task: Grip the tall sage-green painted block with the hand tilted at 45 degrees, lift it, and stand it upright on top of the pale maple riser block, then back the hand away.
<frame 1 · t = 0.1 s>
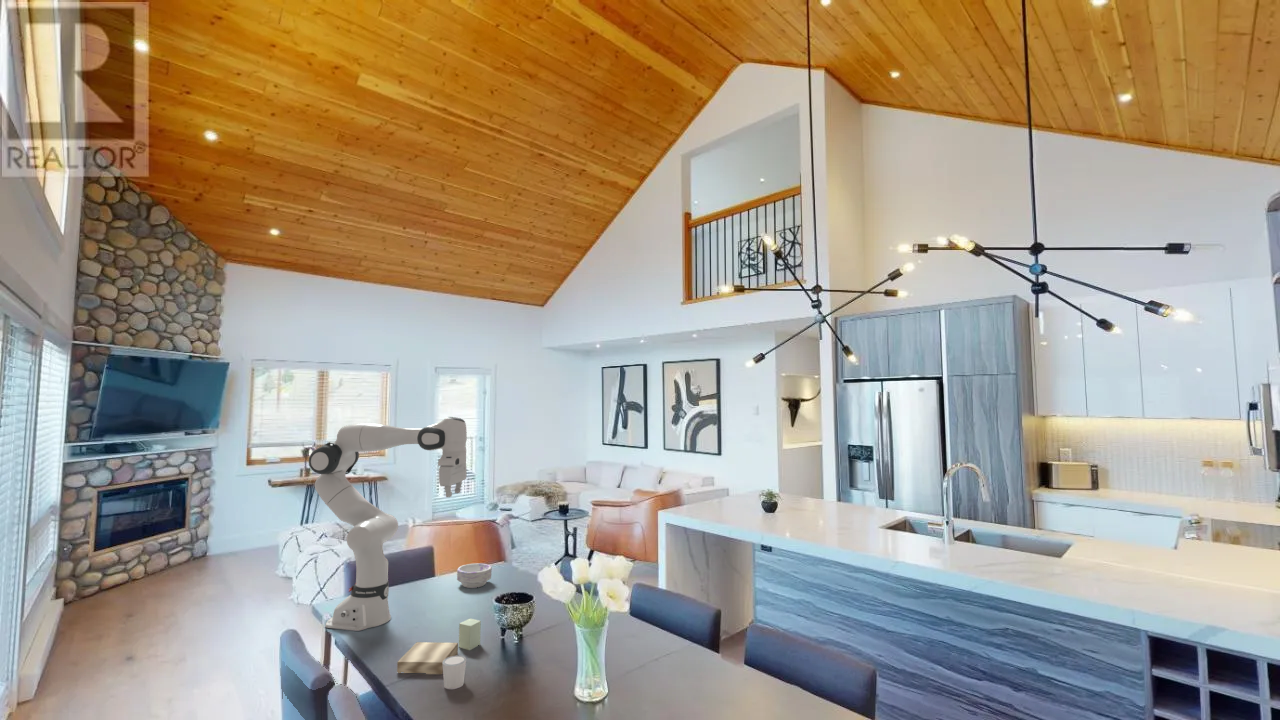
hand: (453, 494, 217), 48 cm above the table, tool pointing down, fingers open, 8 cm apart
light grey bowl: (474, 585, 256), on the table
shot glass: (453, 685, 167), on the table
sage block: (469, 646, 193), on the table
maple riser: (428, 664, 180), on the table
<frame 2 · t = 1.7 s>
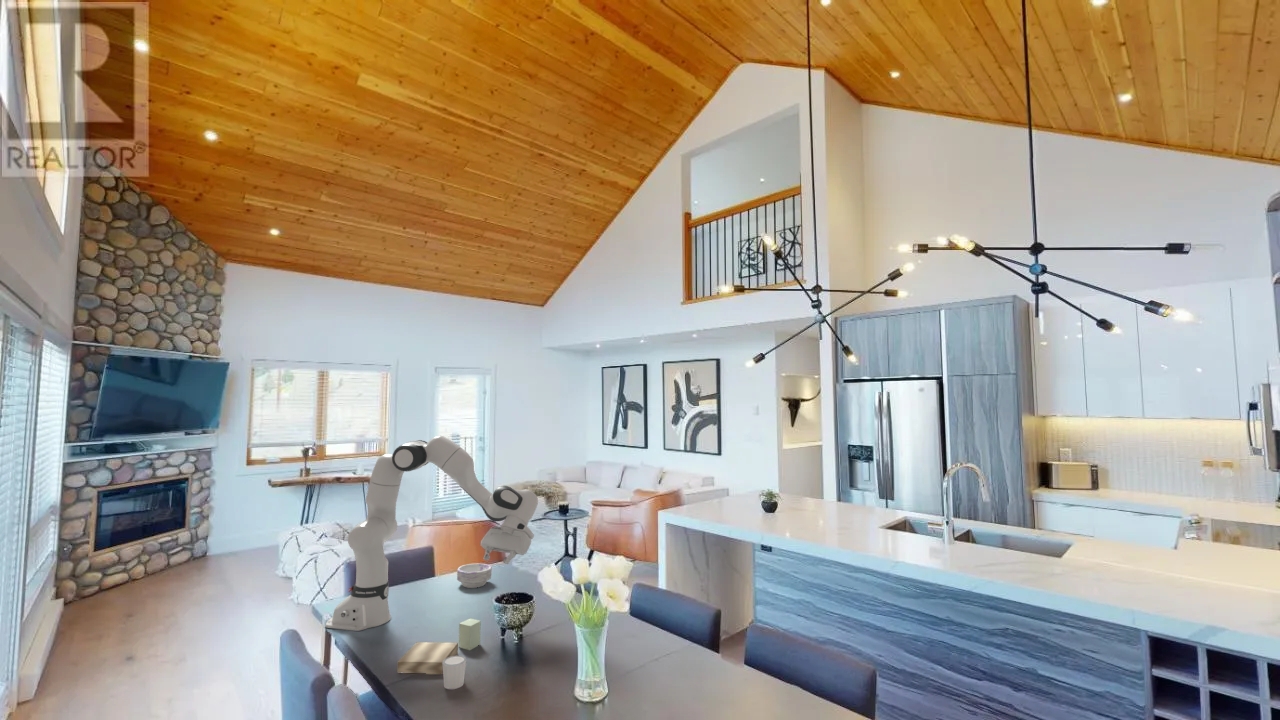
hand: (495, 561, 206), 25 cm above the table, tool tilted 45°, fingers open, 8 cm apart
nothing on the table moved.
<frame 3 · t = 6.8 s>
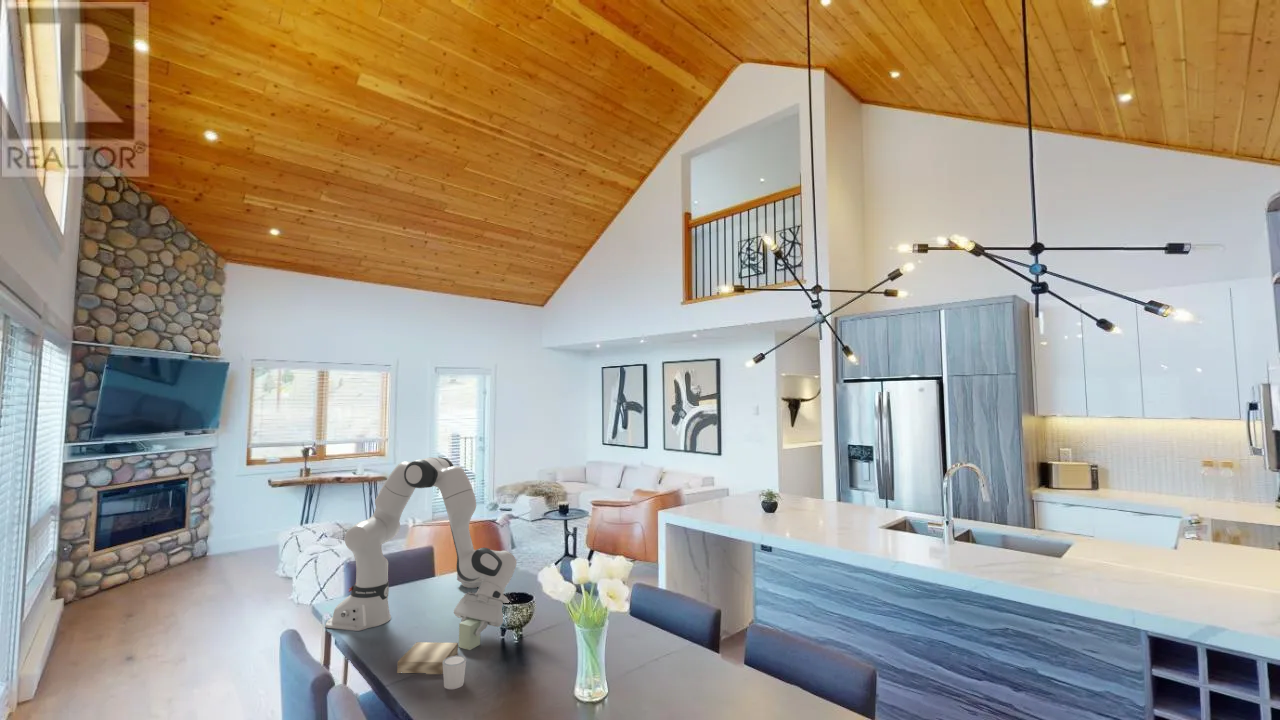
hand: (468, 633, 193), 4 cm above the table, tool tilted 45°, fingers closed on sage block, 5 cm apart
sage block: (469, 645, 193), on the table, touching gripper
everything else where it was.
when the fingers open (10 cm above the table, at t = 14.5 s): sage block drops 2 cm, resting on maple riser.
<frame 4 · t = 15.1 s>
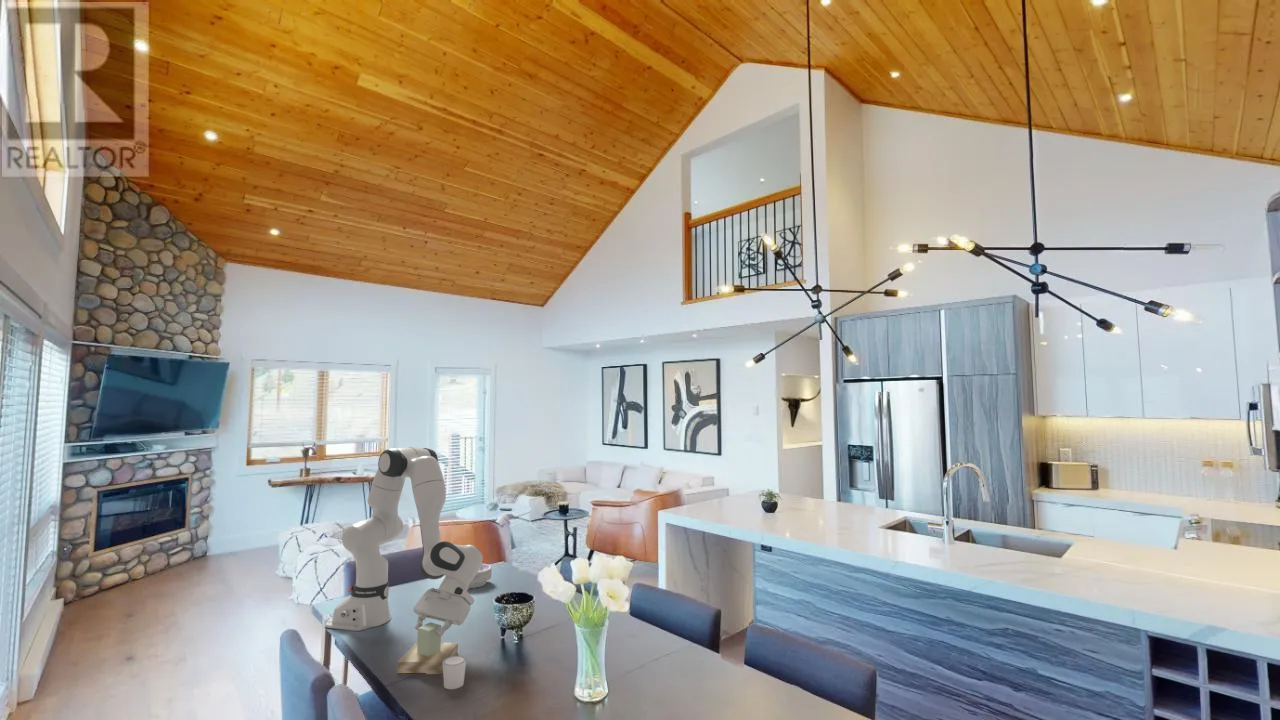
hand: (427, 632, 180), 10 cm above the table, tool tilted 45°, fingers open, 8 cm apart
sage block: (428, 652, 180), point 3 cm above the table, touching maple riser
maple riser: (428, 664, 180), on the table, touching sage block
everything else where it was.
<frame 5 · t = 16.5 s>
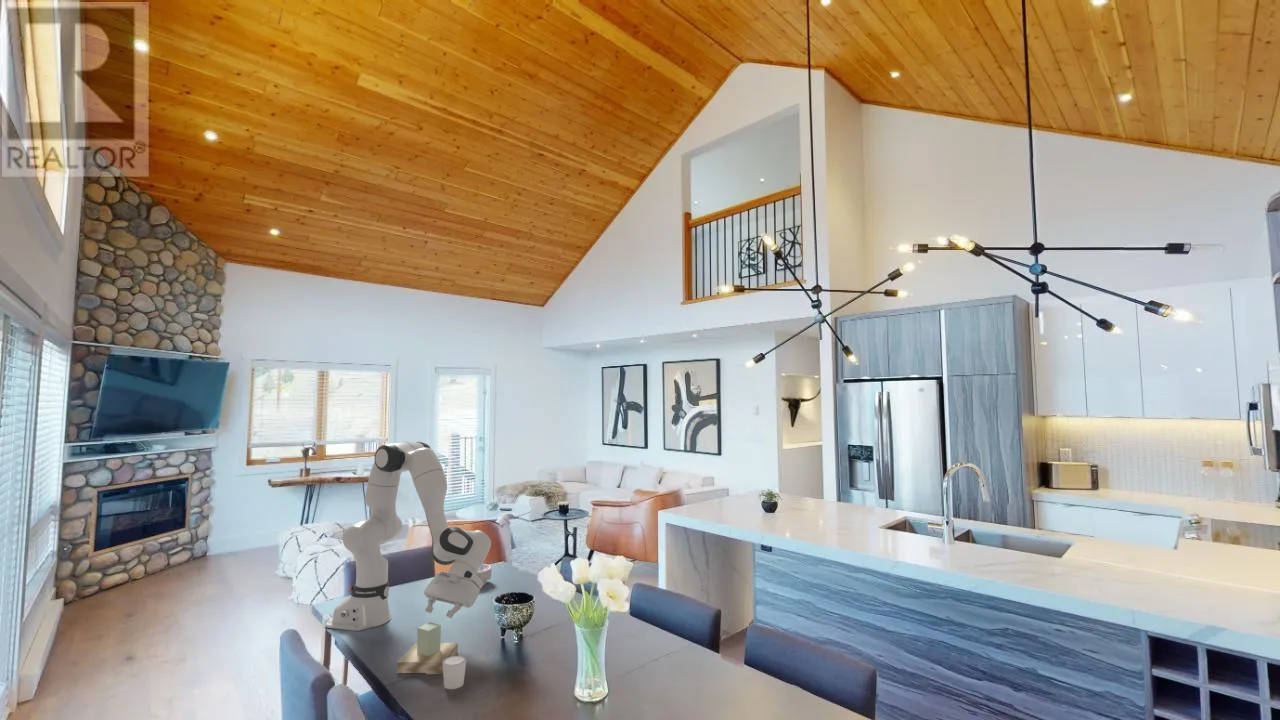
hand: (438, 614, 184), 14 cm above the table, tool tilted 45°, fingers open, 8 cm apart
nothing on the table moved.
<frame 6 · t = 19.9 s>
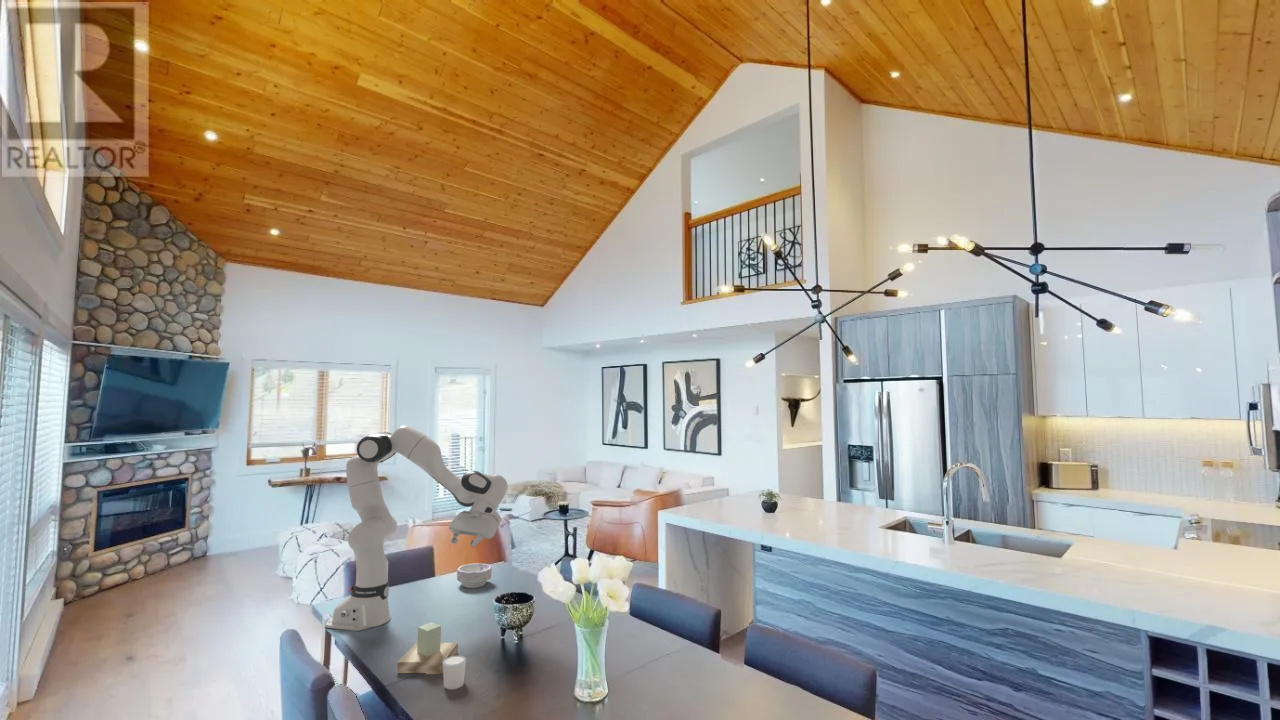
hand: (462, 544, 207), 31 cm above the table, tool tilted 45°, fingers open, 8 cm apart
nothing on the table moved.
at the end: sage block inside the target area on the maple riser (0.2 cm from its centre), point 4.0 cm above the maple riser's base; sage block tilted 1°; the gripper is holding nothing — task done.
